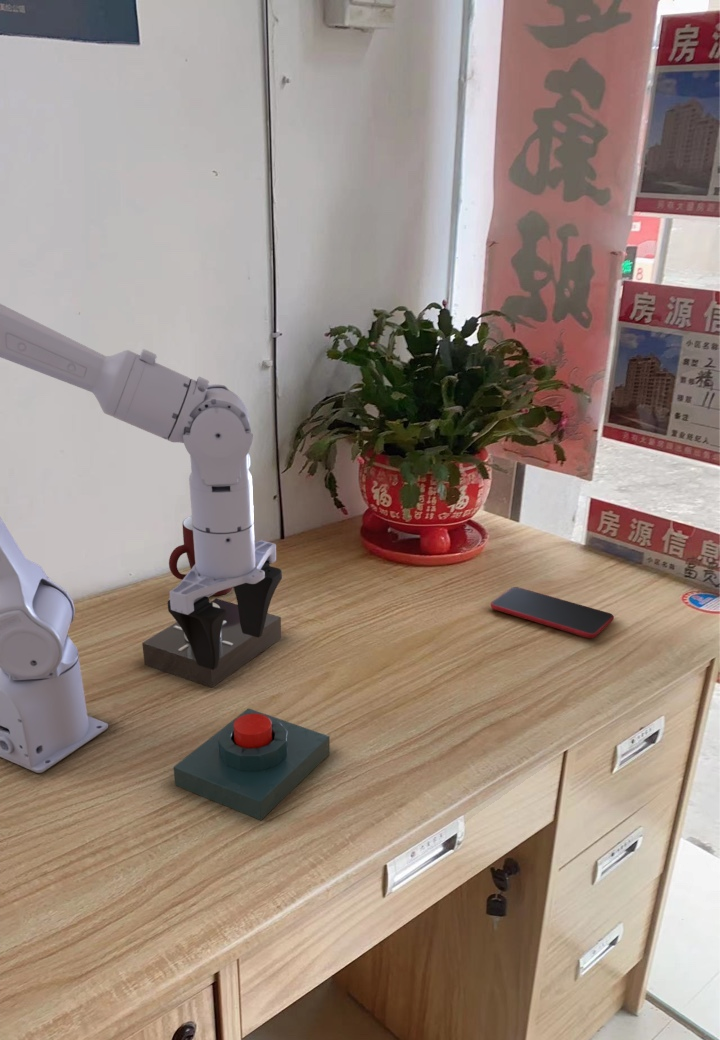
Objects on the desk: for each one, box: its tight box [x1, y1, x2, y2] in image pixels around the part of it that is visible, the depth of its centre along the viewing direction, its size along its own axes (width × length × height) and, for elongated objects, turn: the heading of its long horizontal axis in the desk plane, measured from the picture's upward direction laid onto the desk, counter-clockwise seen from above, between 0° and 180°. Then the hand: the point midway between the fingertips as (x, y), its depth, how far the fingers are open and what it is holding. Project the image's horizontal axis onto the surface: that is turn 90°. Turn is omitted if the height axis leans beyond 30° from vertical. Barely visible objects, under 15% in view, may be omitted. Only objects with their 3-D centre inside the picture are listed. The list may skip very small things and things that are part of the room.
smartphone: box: [490, 586, 615, 639], centre depth 117 cm, size 7×1×15 cm
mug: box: [168, 515, 234, 596], centre depth 120 cm, size 10×8×10 cm
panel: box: [141, 598, 282, 688], centre depth 107 cm, size 14×10×3 cm
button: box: [234, 714, 272, 748], centre depth 84 cm, size 4×4×2 cm
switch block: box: [173, 708, 331, 821], centre depth 86 cm, size 12×10×4 cm
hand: (230, 649), depth 89 cm, fingers open, 7 cm apart
